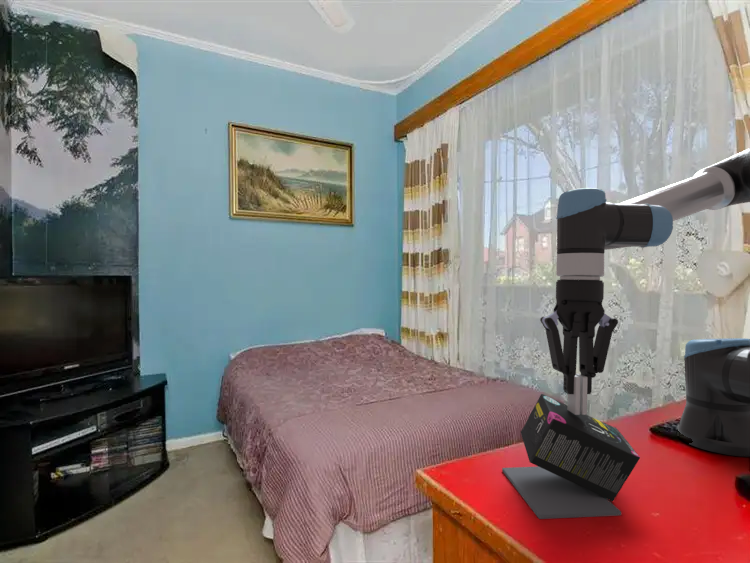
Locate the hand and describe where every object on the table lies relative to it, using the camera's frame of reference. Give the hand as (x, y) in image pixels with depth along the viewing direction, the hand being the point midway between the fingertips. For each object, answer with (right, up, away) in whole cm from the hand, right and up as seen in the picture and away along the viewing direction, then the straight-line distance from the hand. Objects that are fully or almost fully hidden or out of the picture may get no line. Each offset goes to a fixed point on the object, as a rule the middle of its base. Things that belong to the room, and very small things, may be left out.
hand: (576, 411), depth 72 cm
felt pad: (-4, -14, -1) cm, 14 cm away
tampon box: (+6, -9, -1) cm, 11 cm away
